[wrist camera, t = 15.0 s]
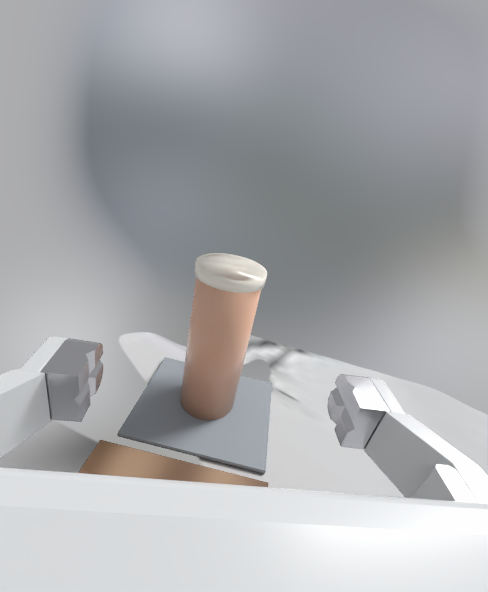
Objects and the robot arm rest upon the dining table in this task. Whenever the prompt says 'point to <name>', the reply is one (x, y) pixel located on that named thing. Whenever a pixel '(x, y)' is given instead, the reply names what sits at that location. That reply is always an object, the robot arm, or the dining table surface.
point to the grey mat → (202, 421)
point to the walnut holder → (155, 467)
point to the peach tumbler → (219, 332)
